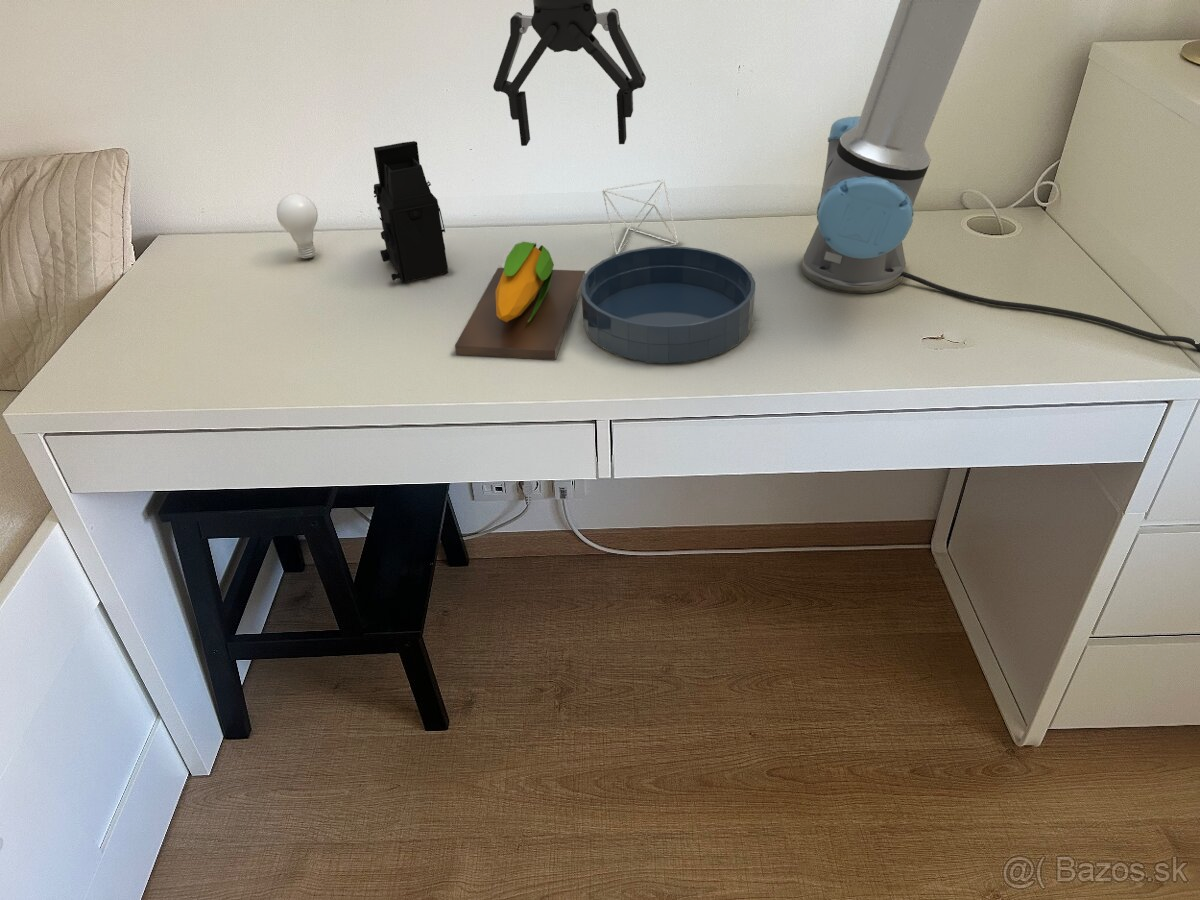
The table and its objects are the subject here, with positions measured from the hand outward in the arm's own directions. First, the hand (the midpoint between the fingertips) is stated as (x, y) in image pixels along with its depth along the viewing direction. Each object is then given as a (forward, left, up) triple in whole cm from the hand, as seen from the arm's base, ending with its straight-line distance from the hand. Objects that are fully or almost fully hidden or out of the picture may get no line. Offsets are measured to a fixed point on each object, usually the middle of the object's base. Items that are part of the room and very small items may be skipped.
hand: (573, 142), depth 124 cm
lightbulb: (+48, -8, -23) cm, 54 cm away
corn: (+7, +8, -21) cm, 24 cm away
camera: (+29, -7, -23) cm, 38 cm away
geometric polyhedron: (-7, -18, -23) cm, 30 cm away
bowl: (-14, +8, -23) cm, 28 cm away
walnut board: (+7, +8, -23) cm, 25 cm away
